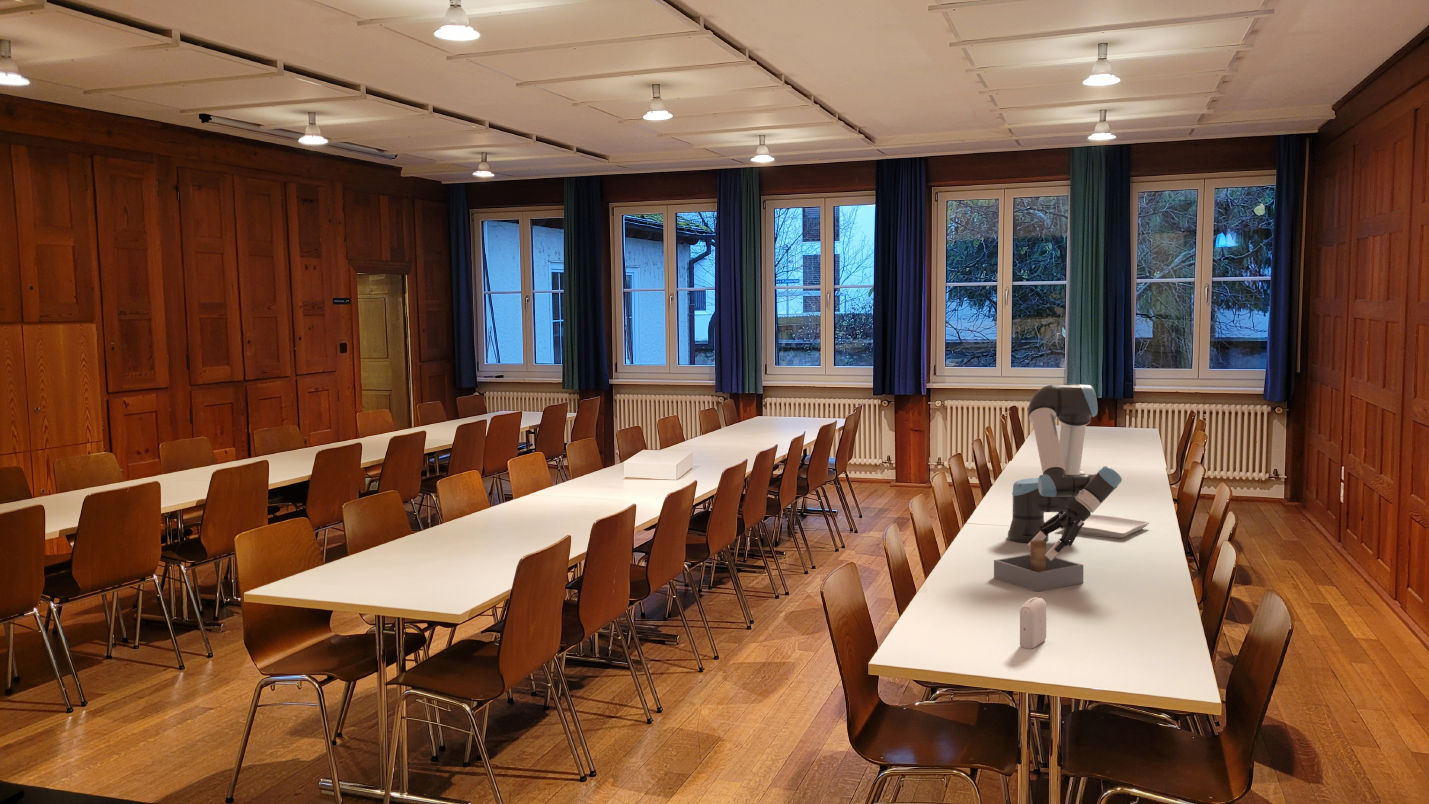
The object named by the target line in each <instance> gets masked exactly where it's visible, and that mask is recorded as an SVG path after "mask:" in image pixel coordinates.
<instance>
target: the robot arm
mask: <svg viewBox="0 0 1429 804" xmlns="http://www.w3.org/2000/svg"><path fill="white" fill-rule="evenodd" d="M1098 411H1099V408H1098V400H1097V394H1096V391H1095V388H1094V387H1093V386H1092V385H1090V384H1080V383H1079V384H1050V385H1046V386H1043V387H1041V388H1039V389H1038V390H1037V391H1036V392H1035V393H1034V394H1033V396H1032V397H1031V400H1030V401H1029V403H1028V408H1027V416H1028V420H1029V422H1030V424H1032V425H1033V431H1034V435H1035V441H1036V446H1037V451H1038V457H1039V462H1040V465H1041V471H1042V472H1041V473H1042V474H1040V475H1039V477H1029V478H1024V479H1018V480H1016V481H1015V482H1014V483H1013V485H1012V492H1011V494H1012V520H1011V523H1010V526H1009V530H1008V531H1007V539H1008V540H1010V541H1013V542H1018V543H1027V547H1029V548H1030V541H1032V540H1043V541H1046V542H1047V541H1049V534H1051V533H1053V532H1055V531H1057V530H1059V529H1061V528H1064V530H1063V532H1062V535H1061V537H1060V538H1058V540H1056V542H1055V543H1054V544H1053V545H1052V546H1051V547H1050V548H1049V549H1048V551H1046V554H1045V556H1046V557H1047V558H1048V559H1049V560H1051V561H1052V559H1053V558H1054V557H1057V555H1058V554H1059V553H1060V552H1061V551H1062V550H1063V549H1064V548H1065V547H1068V546H1069V547H1071V546H1072V545H1073V543H1074V541H1075V540H1076V538H1077V536H1078V535H1079V533H1078V532H1079V531H1080V529H1081V527H1082V526H1083V525H1084V521H1085V520H1086V519H1087V518H1088V517H1089V516H1090V515H1092V513H1094V512H1095V511H1096V510H1097V509H1098V508H1099V507H1100V506H1101V505H1102V504H1103V502H1104V501H1105V500H1106V499H1107V498H1108V497H1109V495H1111V494H1112V493H1113V492H1114V491H1115V489H1117V488H1118V486H1119V485H1120V484H1121V483H1122V481H1123V479H1122V476H1121V475H1120V474H1119V473H1118V472H1117V471H1116V470H1115V469H1114V468H1112V467H1110V466H1108V465H1105V466H1103V467H1102V468H1101V469H1099V470H1098V471H1097V473H1094V474H1086V475H1079V474H1080V469H1081V464H1082V459H1083V458H1082V457H1083V449H1084V441H1085V433H1086V426H1088V425H1089V424H1090V423H1091V420H1092V417H1093V418H1094V417H1096V416H1098ZM1056 419H1058V421H1059V422H1060V423H1061V425H1060V433H1059V435H1058V430H1057V429H1058V428H1057V426H1056V425H1057V424H1056V421H1055V420H1056ZM1064 512H1066V513H1064ZM1045 513H1056V514H1055V515H1054V516H1052V517H1051V518H1049V519H1048V520H1046V521H1045V517H1044V516H1045Z"/></svg>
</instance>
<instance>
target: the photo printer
mask: <svg viewBox="0 0 1429 804" xmlns="http://www.w3.org/2000/svg"><path fill="white" fill-rule="evenodd" d="M1046 639H1047V603H1046V601H1045V599H1044V598H1041V597H1040V598H1039V597H1032V598H1031V597H1030V598H1029V599H1027V600H1026V601H1025V602H1024V603H1023V604H1022V606H1021V608H1020V611H1019V645H1020V647H1021V648H1024V649H1026V650H1027V649H1030V650H1031V649H1034V648H1036V647H1037V646H1040V644H1042V643H1044V642H1045V641H1046Z"/></svg>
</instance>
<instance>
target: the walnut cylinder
mask: <svg viewBox="0 0 1429 804" xmlns="http://www.w3.org/2000/svg"><path fill="white" fill-rule="evenodd" d="M1029 548H1030V552H1029V554H1030V570H1032V571H1035V572H1042V571H1046V556H1045V554H1046V553H1047V541H1043V540H1032V541H1030V547H1029Z"/></svg>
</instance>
